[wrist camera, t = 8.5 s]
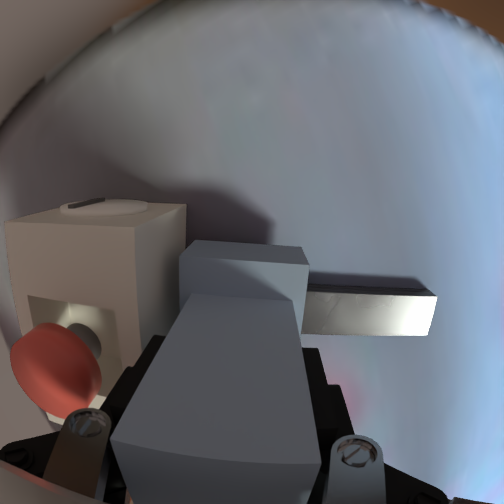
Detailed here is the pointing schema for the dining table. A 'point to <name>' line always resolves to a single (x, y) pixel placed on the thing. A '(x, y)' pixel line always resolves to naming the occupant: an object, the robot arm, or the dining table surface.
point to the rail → (367, 310)
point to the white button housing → (100, 274)
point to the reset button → (58, 367)
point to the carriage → (226, 386)
